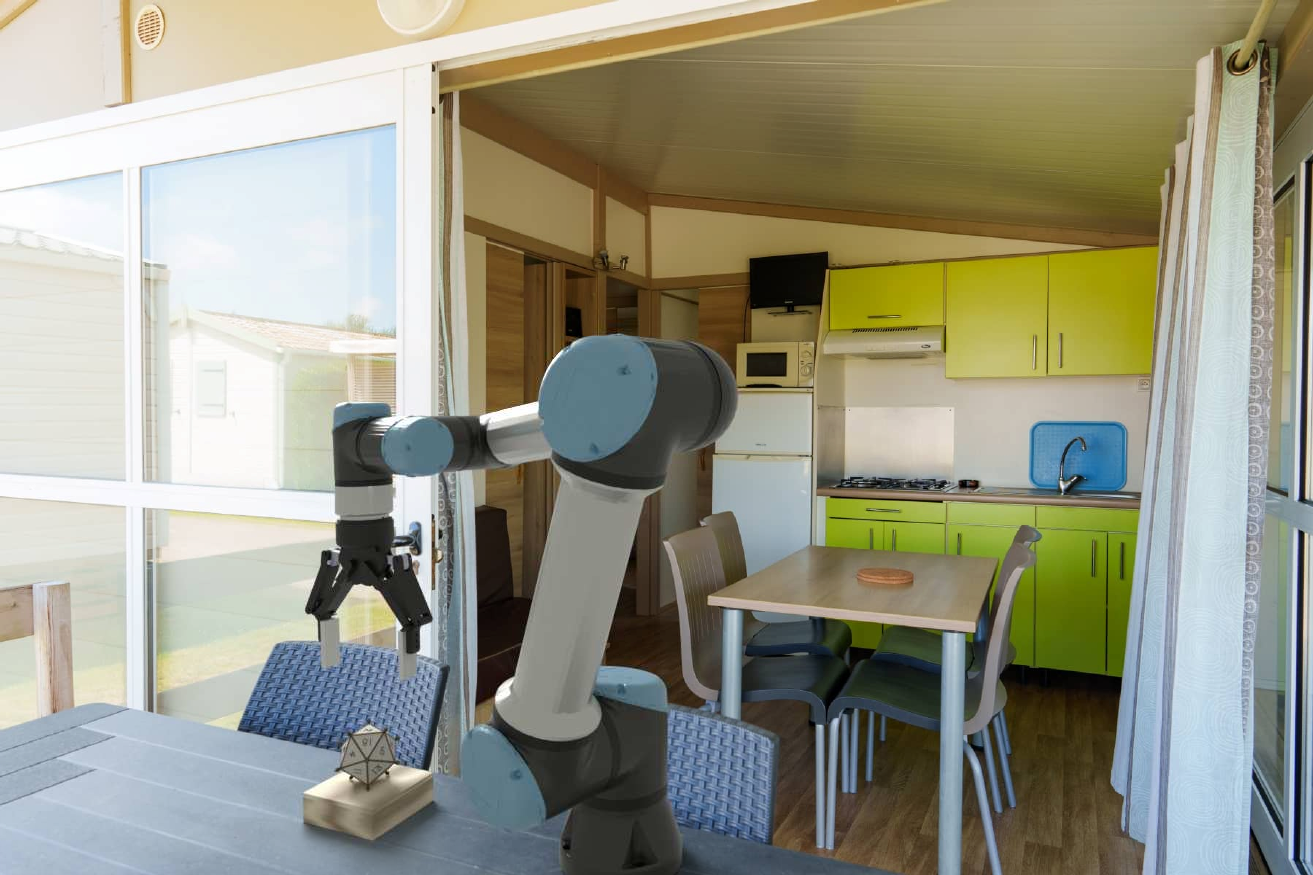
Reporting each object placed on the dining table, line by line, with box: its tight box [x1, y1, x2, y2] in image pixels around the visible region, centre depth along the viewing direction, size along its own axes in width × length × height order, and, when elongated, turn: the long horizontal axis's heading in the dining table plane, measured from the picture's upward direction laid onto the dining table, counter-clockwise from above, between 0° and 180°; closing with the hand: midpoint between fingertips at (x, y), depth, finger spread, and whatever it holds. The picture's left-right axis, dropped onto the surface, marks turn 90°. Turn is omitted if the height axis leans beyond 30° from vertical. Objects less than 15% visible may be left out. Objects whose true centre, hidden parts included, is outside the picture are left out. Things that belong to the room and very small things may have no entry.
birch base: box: [302, 763, 435, 841], centre depth 117 cm, size 12×12×4 cm
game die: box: [333, 717, 401, 791], centre depth 116 cm, size 9×8×10 cm
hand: (368, 671), depth 116 cm, fingers open, 13 cm apart
